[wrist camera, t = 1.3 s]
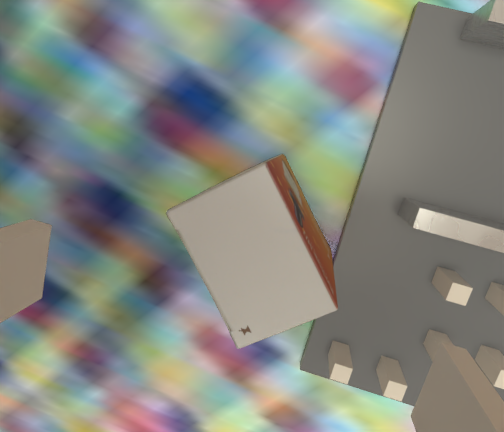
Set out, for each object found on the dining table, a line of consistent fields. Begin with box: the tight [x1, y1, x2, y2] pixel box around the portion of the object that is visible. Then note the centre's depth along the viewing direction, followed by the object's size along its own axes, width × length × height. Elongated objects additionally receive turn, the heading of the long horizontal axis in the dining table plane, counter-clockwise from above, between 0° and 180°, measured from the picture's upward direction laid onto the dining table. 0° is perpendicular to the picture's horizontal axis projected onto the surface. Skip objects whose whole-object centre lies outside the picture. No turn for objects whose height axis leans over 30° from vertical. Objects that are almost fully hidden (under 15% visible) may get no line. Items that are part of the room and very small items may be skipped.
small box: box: [166, 154, 338, 349], centre depth 24 cm, size 8×6×10 cm
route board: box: [300, 2, 504, 406], centre depth 25 cm, size 15×26×4 cm, turn 166°
